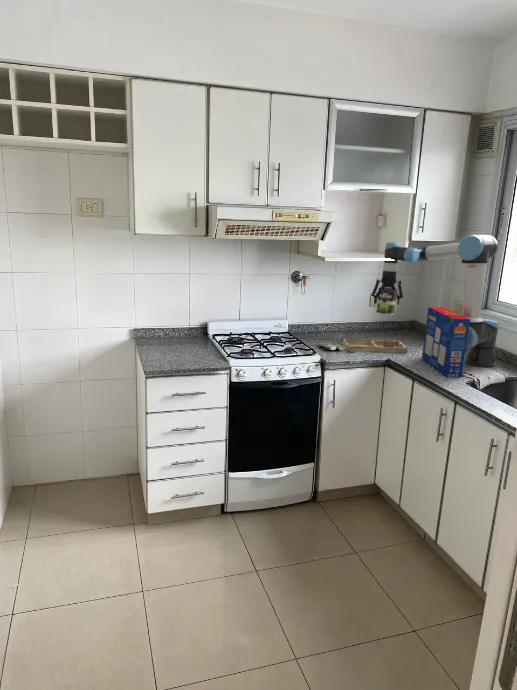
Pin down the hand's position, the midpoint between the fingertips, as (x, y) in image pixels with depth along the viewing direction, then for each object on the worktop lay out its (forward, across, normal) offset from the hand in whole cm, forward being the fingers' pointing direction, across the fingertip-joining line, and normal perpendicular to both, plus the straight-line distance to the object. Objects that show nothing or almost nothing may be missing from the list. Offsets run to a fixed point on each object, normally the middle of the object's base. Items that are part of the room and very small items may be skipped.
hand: (385, 309), depth 294 cm
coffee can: (+2, 0, 0) cm, 2 cm away
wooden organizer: (+20, +8, +15) cm, 26 cm away
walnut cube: (+19, 0, +15) cm, 24 cm away
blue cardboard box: (+20, -19, +45) cm, 52 cm away
